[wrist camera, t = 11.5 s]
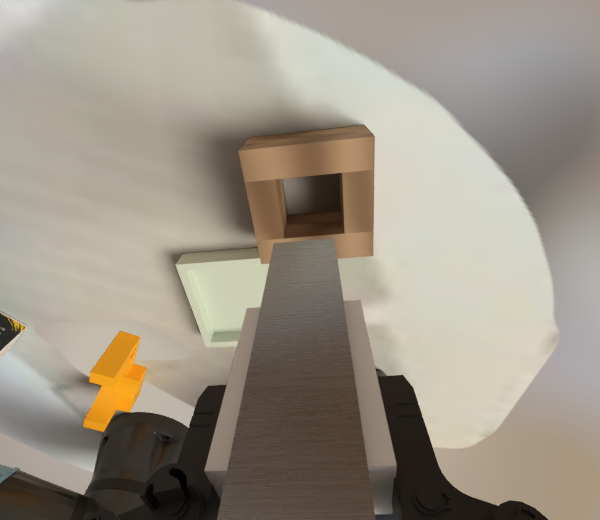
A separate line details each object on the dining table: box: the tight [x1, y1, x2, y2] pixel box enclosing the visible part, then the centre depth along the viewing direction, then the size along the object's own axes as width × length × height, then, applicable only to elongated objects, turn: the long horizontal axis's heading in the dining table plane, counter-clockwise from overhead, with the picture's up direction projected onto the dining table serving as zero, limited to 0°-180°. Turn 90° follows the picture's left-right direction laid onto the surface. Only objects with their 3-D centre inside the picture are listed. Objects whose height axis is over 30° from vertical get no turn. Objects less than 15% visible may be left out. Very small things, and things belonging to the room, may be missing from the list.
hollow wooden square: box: [238, 125, 375, 264], centre depth 28 cm, size 10×10×5 cm
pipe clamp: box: [83, 331, 146, 432], centre depth 42 cm, size 12×4×6 cm, turn 156°
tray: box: [176, 248, 269, 348], centre depth 36 cm, size 12×12×2 cm
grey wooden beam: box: [217, 238, 376, 520], centre depth 13 cm, size 3×3×14 cm
